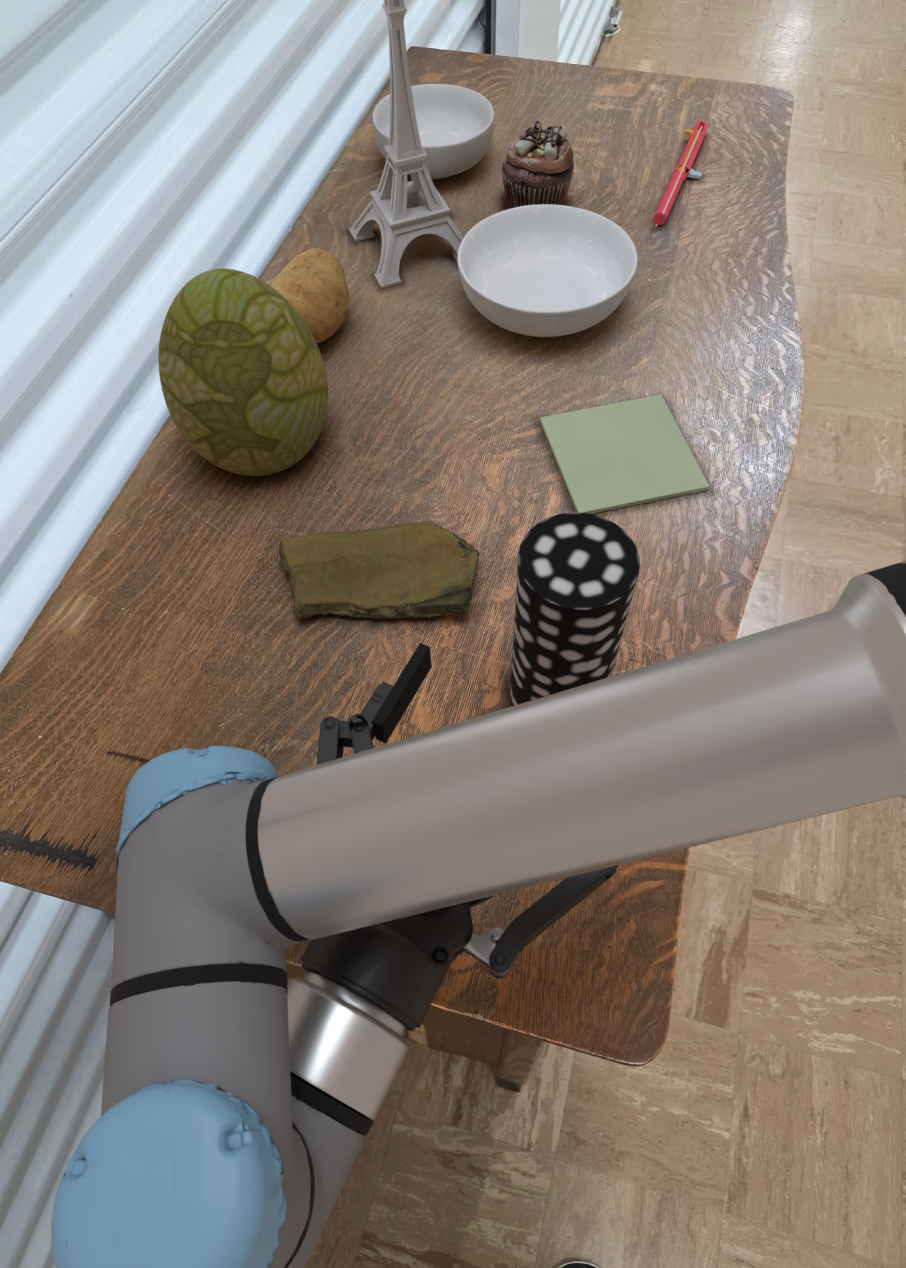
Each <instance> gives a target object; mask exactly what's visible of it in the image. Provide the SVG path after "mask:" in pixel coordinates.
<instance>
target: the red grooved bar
mask: <svg viewBox="0 0 906 1268" xmlns="http://www.w3.org/2000/svg"><path fill="white" fill-rule="evenodd" d="M709 127H710V124H709V123H706V122H705V121H702V120H701V119H698V121H697V122H696V124H695V126H694V128H693V129H689V128H686V129H685V130H684V131H683V134H687V135H689V139H688V140H687V142H686V145H685V147H684V149H683V152H682V154H681V157H680V159H679V161H678V164H676V165H677V166H676V167H675V168H674V170H673V172H672V175H671V177H670V180H669V183H668V185H667V187H666V188H665V191H664V193H663V195H662V197H661V199H660V202H659V204H658V206H657V209H656V211H655V213H654V216H653V222H654V223H655V225H654V228H657V227H658V226H662V225H664V224H666V222H667V220H668V217H669V215H670V213H671V211H672V208H673V206H674V204H675V201H676V199H677V196H678V194H679V192H680V191H681V188H682V185H683V183H684V182H685V181H686V179H687V178H690V179H696V180H700V179H701V178H702V176H703V175H702V172H701V171H697V170H694V169H693V168H692V166H693V164H694V161H695V159H696V157H697V155H698V152H699V150H700V148H701V145H702V143H703V141H704V138H705V136H706V134H707V131H708V129H709Z"/></svg>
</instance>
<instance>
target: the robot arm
mask: <svg viewBox="0 0 906 1268" xmlns="http://www.w3.org/2000/svg"><path fill="white" fill-rule="evenodd" d="M432 666H433V665H432V655H431V646H429V645H426V644H424V643H422V642H419V643H418V645H417V646H416V648H415V650H414V652H413V653H412V655H411V656H410V658H409V660H408V661H407V663H406V665H405V666H404V668H403V670H402V671H401V672H400V674H399V676H398V678H397V680H396V681H395V683H394V684H393V685H392V684H391V683H388V682H385V681H383V682H381V683H380V684H378V685H377V686H376V688H375V690H374V691H373V693H371V696H370V698H369V699H368V701H367V702H366V703H365V706H364V708H362V710H361V712H360V713H355V714H353V715H351V716H350V717H349V718H348V720H339V719H338V717H336V716H332V715H329V716H326V717H324V718H323V719H322V720H321V722H320V724H319V735H318V745H317V754H316V755H317V756H316V764H315V765H313V766H312V765H311V766H309V767H306V768H302V769H300V770H296V771H293V772H289V773H287V774H284V775H279V774H278V771H277V769H276V768H275V766H274V765H273V763H271V761H270V760H268V759H267V758H266V757H264V756H262V755H261V754H259V753H258V752H255V751H252V750H249V749H245V748H242V747H235V746H228V745H210V746H208V747H206V748H203V749H193V748H190V747H183V748H179V749H175V750H174V749H173V750H171V751H168V752H165V753H163V754H160V755H158V756H156V757H154V758H152V759H150V760H149V761H147V762H146V763H144V764H143V765H142V766H141V767H139V768H138V769H137V770H136V772H135V773H134V774H133V776H132V777H131V779H130V781H129V782H128V785H127V787H126V791H125V798H124V804H123V809H122V810H123V811H122V816H121V817H122V818H121V825H120V831H119V837H118V838H119V839H118V842H117V845H116V849H115V861H114V864H115V868H116V873H117V874H116V875H117V876H116V893H115V895H116V896H115V913H114V930H113V931H114V933H113V949H112V950H113V951H112V952H113V953H112V968H111V969H112V970H111V989H110V992H109V994H110V995H109V1007H108V1010H107V1021H106V1023H107V1024H106V1037H105V1050H104V1065H103V1078H102V1079H103V1080H102V1093H101V1105H100V1107H101V1108H100V1117H98V1119H97V1120H96V1121H95V1122H94V1123H93V1124H92V1125H91V1126H90V1127H89V1128H88V1130H87V1131H86V1132H85V1134H83V1136H82V1137H81V1139H80V1140H79V1142H78V1144H77V1147H76V1149H75V1151H74V1152H73V1154H72V1155H71V1156H70V1158H69V1160H68V1162H67V1165H66V1168H65V1170H64V1173H63V1175H62V1176H61V1178H60V1181H59V1183H58V1187H57V1188H56V1191H55V1196H54V1200H53V1205H52V1213H51V1221H50V1222H51V1225H50V1238H51V1239H50V1243H51V1251H52V1252H51V1253H52V1258H53V1263H54V1267H55V1268H305V1267H306V1266H307V1263H308V1261H309V1259H310V1256H311V1255H312V1252H313V1250H314V1248H315V1246H316V1243H317V1241H318V1239H319V1236H320V1235H321V1233H322V1231H323V1229H324V1227H325V1225H326V1224H327V1223H326V1222H327V1220H328V1218H329V1216H330V1214H331V1212H332V1210H333V1208H334V1205H335V1203H336V1201H337V1199H338V1197H339V1195H340V1193H341V1191H342V1189H343V1186H344V1183H345V1182H346V1179H347V1178H348V1175H349V1173H350V1171H351V1169H352V1166H353V1165H354V1163H355V1160H356V1158H357V1156H358V1154H359V1152H360V1149H361V1147H362V1145H363V1143H364V1141H365V1138H366V1137H367V1135H368V1134H369V1132H370V1131H371V1128H372V1126H373V1124H374V1121H375V1120H376V1118H377V1115H378V1114H379V1111H380V1110H381V1108H382V1105H383V1104H384V1102H385V1099H386V1097H387V1096H388V1093H389V1091H390V1089H391V1087H392V1086H393V1083H394V1081H395V1079H396V1077H397V1075H398V1073H399V1071H400V1069H401V1067H402V1065H403V1063H404V1061H405V1059H406V1057H407V1054H408V1053H409V1051H410V1047H409V1043H408V1041H407V1039H406V1038H404V1036H405V1034H406V1032H407V1031H409V1032H414V1031H415V1030H416V1028H420V1029H421V1026H422V1024H423V1022H424V1020H425V1018H426V1015H427V1014H428V1013H429V1010H430V1008H431V1006H432V1003H433V1001H434V999H435V997H436V995H437V993H438V991H439V989H440V987H441V986H442V982H443V980H444V979H445V977H446V974H447V972H448V970H449V968H450V967H451V964H452V963H453V961H454V960H455V959H456V958H457V957H458V956H460V954H461V955H462V953H464V952H465V954H468V955H469V956H470V957H472V958H473V959H475V960H476V961H478V962H479V963H481V964H482V965H484V966H486V967H487V968H488V971H489V974H490V975H491V976H492V977H493V978H495V979H496V980H501V979H502V980H503V979H504V978H506V977H507V976H508V975H509V973H510V972H511V970H512V968H513V967H514V965H515V963H516V961H517V960H518V959H519V956H520V955H521V953H522V951H523V950H524V948H526V947H527V946H528V945H529V944H530V943H532V942H533V941H534V940H535V939H537V938H538V937H539V936H540V935H542V934H543V933H544V932H545V931H547V930H548V929H549V928H551V926H553V925H554V924H555V923H557V922H558V921H559V920H560V919H562V918H563V917H564V916H565V915H567V914H568V913H569V912H570V911H571V910H573V909H574V908H575V907H576V906H578V905H579V904H580V903H581V902H582V901H584V900H585V899H586V898H588V897H589V896H590V895H591V894H592V893H594V892H596V891H597V889H599V888H600V887H601V886H602V885H604V884H605V883H606V882H608V881H609V880H610V879H611V878H613V877H614V875H615V874H616V871H617V870H618V867H619V866H621V865H624V864H628V863H631V862H636V861H640V860H644V859H649V858H653V857H658V856H661V855H664V854H669V853H673V852H677V851H682V850H686V849H689V848H693V847H697V846H702V845H706V844H711V843H714V842H717V841H718V842H719V841H722V840H726V839H731V838H735V837H740V836H743V835H746V834H752V833H755V832H760V831H763V830H768V829H771V828H775V827H779V826H783V825H788V824H792V823H797V822H801V821H805V820H809V819H812V818H813V819H814V818H816V817H821V816H824V815H829V814H832V813H833V814H834V813H837V812H841V811H844V810H845V811H846V810H849V809H853V808H857V807H861V806H865V805H870V804H873V803H877V802H882V801H887V800H890V799H895V798H902V799H906V560H904V561H900V562H897V563H893V564H889V565H887V566H884V567H883V566H882V567H880V568H877V569H873V570H870V571H867V572H864V573H861V574H858V575H854V576H852V578H851V579H850V580H849V581H848V583H847V584H846V586H845V587H844V589H843V591H842V592H841V594H840V596H839V598H838V600H837V601H836V603H835V605H834V606H833V607H832V608H831V609H830V610H828V611H825V612H821V613H818V614H814V615H811V616H808V617H804V618H802V619H798V620H795V621H791V622H788V623H784V624H781V625H778V626H775V627H771V628H769V629H765V630H761V631H758V632H755V633H752V634H748V635H745V636H740V637H738V638H734V639H732V640H728V641H725V642H721V643H718V644H715V645H711V646H708V647H704V648H702V649H698V650H695V651H691V652H688V653H685V654H681V655H678V656H675V657H672V658H668V659H665V660H662V661H659V662H655V663H651V664H648V665H645V666H642V667H638V668H635V669H632V670H628V671H625V672H622V673H619V674H615V675H612V676H611V677H608V678H605V679H602V680H598V681H595V682H592V683H588V684H585V685H582V686H578V687H575V688H572V689H568V690H565V691H562V692H558V693H555V694H552V695H548V696H545V697H542V698H538V699H535V700H532V701H528V702H525V703H522V704H518V705H515V706H512V705H511V706H509V707H504V708H502V709H499V710H495V711H492V712H488V713H485V714H482V715H479V716H475V717H472V718H469V719H466V720H462V721H459V722H456V723H452V724H449V725H446V726H443V727H442V726H441V727H439V728H436V729H432V730H429V731H426V732H423V733H419V734H416V735H413V736H409V737H406V738H402V739H399V740H395V741H393V742H389V743H388V741H389V740H390V738H391V737H392V735H393V733H394V732H395V730H396V728H397V726H398V724H399V723H400V721H401V719H402V718H403V717H404V714H405V713H406V711H407V710H408V707H409V706H410V704H411V703H412V701H413V699H414V698H415V696H416V695H417V692H418V691H419V689H420V688H421V685H423V683H424V681H425V679H426V678H427V675H428V674H429V672H430V671H431V669H432ZM374 739H375V740H377V741H379V742H381V743H383V744H381V745H379V746H376V747H374V746H375V745H374V742H373V741H374ZM344 748H352V749H353V754H350V755H345V756H344V750H345V749H344ZM558 880H562V881H560V882H559V883H558V884H557V885H555V886H554V887H553V888H551V889H550V890H549V891H548V892H546V893H545V894H544V895H543V896H541V897H540V898H539V899H537V900H536V901H535V902H534V903H532V904H531V905H530V906H529V907H527V908H526V909H525V910H524V911H523V912H521V913H520V914H519V915H517V916H516V917H515V918H514V919H513V920H512V921H511V922H510V923H509V924H508V925H507V926H506V927H505V929H504V928H503V927H499V926H493V927H492V928H490V929H489V930H487V932H486V933H483V934H477V933H475V932H474V925H473V917H472V912H471V911H472V910H471V908H473V907H476V906H477V905H480V904H483V903H484V902H487V901H489V900H490V899H492V898H493V897H495V896H496V895H501V894H505V893H510V892H514V891H517V890H522V889H525V888H530V887H533V886H539V885H542V884H546V883H550V882H554V881H558ZM307 941H310V942H309V943H308V944H307V947H306V949H305V950H304V952H303V954H302V955H301V958H300V960H301V961H302V962H301V968H302V969H303V970H304V974H303V975H302V977H301V978H300V977H299V976H296V977H295V976H294V977H291V978H289V979H288V972H287V950H288V947H290V946H293V945H296V944H299V943H303V942H307Z"/></svg>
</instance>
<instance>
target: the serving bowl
mask: <svg viewBox="0 0 906 1268" xmlns="http://www.w3.org/2000/svg"><path fill="white" fill-rule="evenodd" d="M463 237H464V238H463V240H462V242H461V244H460V246H459V249H458V255H457V261H456V263H457V270H458V275H459V278H460V282H461V285H462V288H463V291H464V292H465V294H466V295H465V296H466V297H467V298H468V300H469V301H470V303H471V305H473V307H474V308H475V309H476V310H477V311H478V313H479V314H481V315H482V316H483V317H484V318H486V320H488V321H489V322H491V323H493V324H494V325H495V326H498V327H500V328H502V329H504V330H506V331H508V332H512V333H515V334H519V335H523V336H528V337H537V338H555V337H563V336H568V335H573V334H576V333H580V332H582V331H585V330H587V329H589V328H591V327H594V326H596V325H597V324H599V323H600V322H602V321H603V320H605V319H607V318H608V317H609V316H610V315H611V314H612V313H614V312H615V310H616V309H617V308H618V307H619V306H620V305H621V303H622V302H623V301H624V300H625V298H626V296H627V294H628V293H629V291H630V289H631V286H632V284H633V281H634V278H635V276H636V273H637V269H638V263H639V256H638V251H637V247H636V245H635V243H634V241H633V239H632V237H630V236H629V233H628V232H626V231H625V229H623V228H622V227H621V226H619V224H618V223H616V222H614V221H613V220H611V219H609V218H607V217H605V216H603V215H601V214H599V213H596V212H595V211H594V212H593V211H591V210H588V209H584V208H580V207H575V206H571V205H565V204H564V205H550V204H540V205H527V206H520V207H516V208H511V209H508V208H507V209H503V210H501V211H498V212H496V213H493V214H491V215H489V216H487V217H486V218H484V219H482V220H480V221H479V222H477V223H476V224H475V225H474V226H472V228H470V229H469V230H468V231H467V233H465V235H464V236H463Z"/></svg>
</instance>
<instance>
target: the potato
mask: <svg viewBox="0 0 906 1268" xmlns="http://www.w3.org/2000/svg"><path fill="white" fill-rule="evenodd" d="M269 285H270V286H271V287H273V288H274V289H275V290H276V291H278V292H279V293H280V294H281V295H282V296H283V297H284V298H286V299H287V300H288V301H289V303H290V304H291V305H292V306H293V307H294V308H295V309H296V311H297V312H298V313H299V314H300V316H301V317H302V318H303V320H304V322H305V323H306V325H307V326H308V328H309V329H310V331H311V333H312V335H313V337H314V339H315V341H316V343H317V344H319V343H323V342H324V341H326V340H327V339H329V338H331V337H332V336H333V335H334V334H335V333H336V332H337V331H338V329H339V328H340V327H341V326H342V324H343V323H344V321H345V320H346V315H347V309H348V306H349V303H350V300H351V295H350V292H349V287H348V283H347V278H346V275H345V271H344V268H343V266H342V264H341V262H340V260H339V258H337V256H336V255H334V254H333V253H331V252H330V251H329V250H327V249H325V248H324V249H323V248H314V247H313V248H312V247H311V248H308V249H307V250H305V251H303V252H300V253H298V254H296V255H295V256H294V257H293V258H292V259H291V260H290V261H289V262H288V263H287V264H286V265H285V266H284V267H283V268H282V270H280V272H279V273H278V274H277V275H276V277H275V278H274V279H273V280H272V282H271V283H270V284H269Z"/></svg>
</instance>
